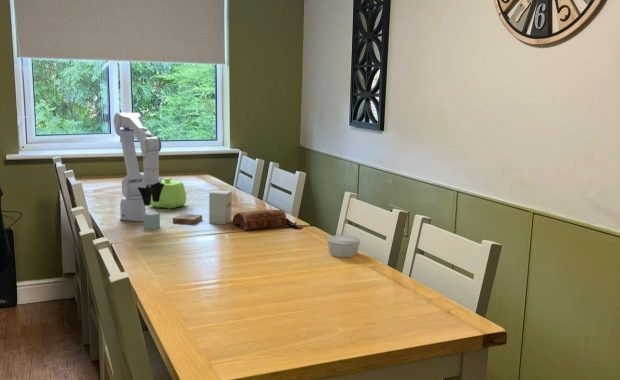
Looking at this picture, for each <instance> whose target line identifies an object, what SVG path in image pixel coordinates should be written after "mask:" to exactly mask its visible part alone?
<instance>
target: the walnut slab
mask: <svg viewBox="0 0 620 380" xmlns="http://www.w3.org/2000/svg"><path fill="white" fill-rule="evenodd" d="M201 221H203V214H194V213H193V214H191V213H189V214H188V213H180V214H177V215H176V216H173V218H172V223H173V224H182V225H184V224H185V225H197V224H198V223H199V222H201Z"/></svg>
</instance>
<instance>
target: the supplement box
mask: <svg viewBox="0 0 620 380" xmlns="http://www.w3.org/2000/svg"><path fill="white" fill-rule="evenodd" d="M232 196H233V192H232V190H218V189H217V190H213V191H211V192H209V197H208V199H209V201H208V202H209V203H208V205H209V206H208V208H209V210H208V211H209V212H208V213H209V214H208V224H215V225H216V224H218V225H226V224H228V223H230V222H232V204H233V203H232V202H233V201H232V199H233V198H232Z"/></svg>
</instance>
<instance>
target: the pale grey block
mask: <svg viewBox="0 0 620 380" xmlns="http://www.w3.org/2000/svg"><path fill="white" fill-rule="evenodd" d="M160 214H161V213H160V212H151V211H148V212H145V214H144V220H143V228H144V229H147V228H148V229H150V230H151V229H152V230H156V229H158V228H160V227H161V219H160V218H161V215H160Z"/></svg>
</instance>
